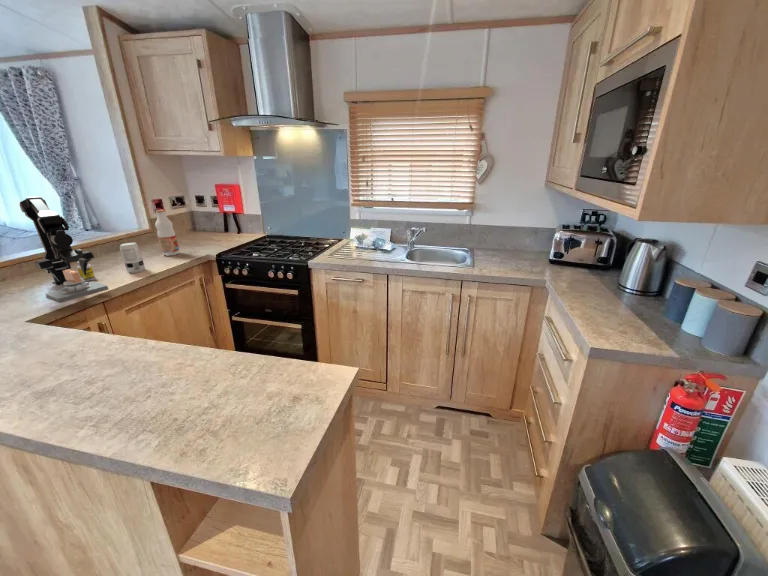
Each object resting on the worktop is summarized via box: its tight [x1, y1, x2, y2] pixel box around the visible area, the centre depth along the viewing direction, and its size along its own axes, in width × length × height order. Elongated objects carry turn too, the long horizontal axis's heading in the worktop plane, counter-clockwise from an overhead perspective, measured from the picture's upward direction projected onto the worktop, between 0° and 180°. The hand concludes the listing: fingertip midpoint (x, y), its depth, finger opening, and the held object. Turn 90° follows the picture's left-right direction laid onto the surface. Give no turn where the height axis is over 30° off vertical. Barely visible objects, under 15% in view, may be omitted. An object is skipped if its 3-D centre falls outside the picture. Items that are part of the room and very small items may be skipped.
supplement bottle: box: [76, 261, 96, 282], centre depth 169 cm, size 5×5×10 cm
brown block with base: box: [61, 269, 89, 292], centre depth 152 cm, size 9×10×8 cm
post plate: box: [44, 280, 109, 303], centre depth 153 cm, size 14×18×4 cm
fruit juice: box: [154, 209, 180, 257], centre depth 209 cm, size 9×9×28 cm
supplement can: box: [119, 242, 146, 274], centre depth 180 cm, size 8×8×15 cm
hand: (72, 277), depth 151 cm, fingers open, 9 cm apart
